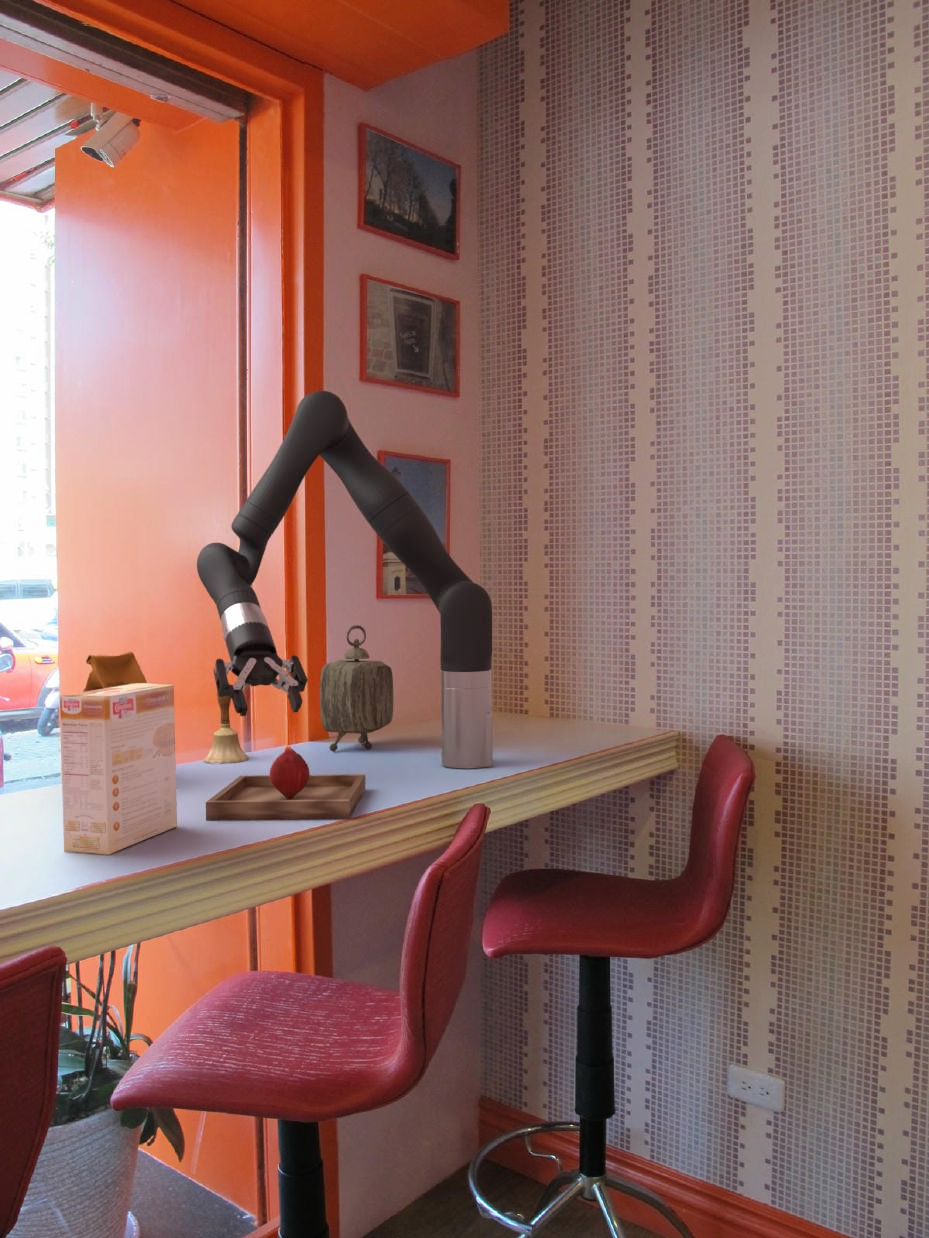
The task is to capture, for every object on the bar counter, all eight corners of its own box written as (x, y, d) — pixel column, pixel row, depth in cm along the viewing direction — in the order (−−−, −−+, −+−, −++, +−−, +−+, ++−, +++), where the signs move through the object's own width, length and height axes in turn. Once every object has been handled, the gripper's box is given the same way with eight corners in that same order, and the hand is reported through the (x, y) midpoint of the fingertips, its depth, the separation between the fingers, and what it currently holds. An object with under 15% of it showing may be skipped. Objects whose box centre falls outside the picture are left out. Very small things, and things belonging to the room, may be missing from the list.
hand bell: (237, 764, 182) (235, 678, 181) (195, 763, 183) (194, 678, 183) (255, 757, 190) (254, 674, 189) (215, 756, 192) (214, 674, 191)
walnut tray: (365, 789, 156) (365, 774, 156) (349, 818, 136) (349, 800, 136) (240, 791, 157) (240, 775, 156) (206, 820, 137) (205, 802, 136)
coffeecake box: (134, 824, 135) (131, 682, 134) (179, 827, 133) (177, 683, 132) (60, 851, 121) (56, 693, 120) (109, 855, 118) (106, 694, 118)
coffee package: (62, 789, 160) (59, 655, 159) (116, 776, 171) (113, 650, 171) (110, 793, 156) (107, 655, 156) (162, 779, 168) (159, 651, 167)
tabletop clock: (359, 742, 207) (357, 624, 206) (396, 744, 203) (395, 624, 202) (320, 752, 194) (318, 626, 193) (359, 755, 190) (357, 626, 189)
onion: (316, 795, 148) (315, 743, 148) (297, 803, 143) (297, 749, 143) (282, 793, 150) (281, 741, 150) (262, 801, 145) (262, 747, 145)
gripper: (208, 621, 158) (231, 698, 148) (293, 619, 165) (319, 692, 155) (201, 653, 162) (221, 729, 153) (283, 649, 169) (308, 722, 160)
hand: (271, 711), depth 154 cm, fingers open, 8 cm apart
